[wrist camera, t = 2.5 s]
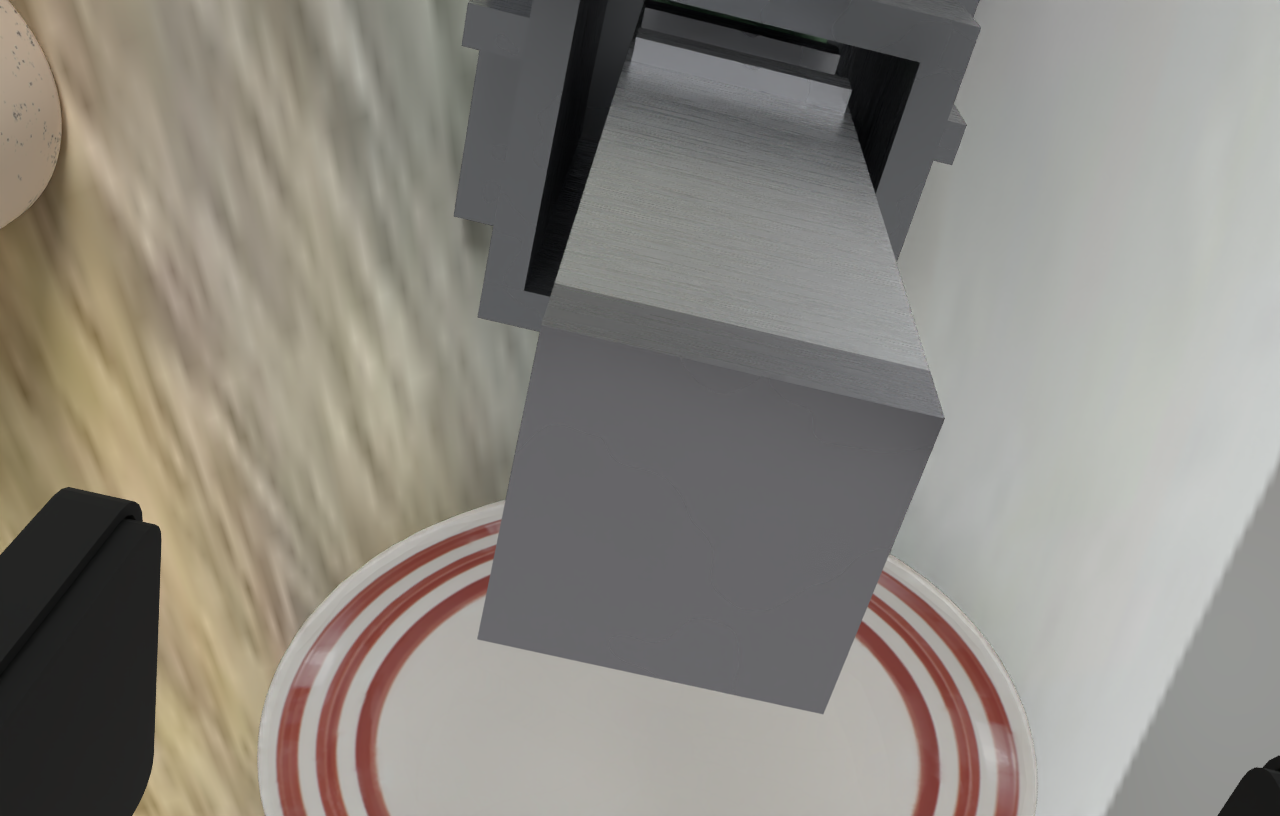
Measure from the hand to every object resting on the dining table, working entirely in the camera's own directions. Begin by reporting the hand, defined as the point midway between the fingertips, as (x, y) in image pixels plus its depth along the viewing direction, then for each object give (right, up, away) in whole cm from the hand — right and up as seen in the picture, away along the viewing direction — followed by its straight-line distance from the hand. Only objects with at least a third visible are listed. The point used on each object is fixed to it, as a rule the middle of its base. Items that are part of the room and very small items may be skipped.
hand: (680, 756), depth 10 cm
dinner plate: (0, -10, +35) cm, 37 cm away
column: (+2, +12, +21) cm, 24 cm away
